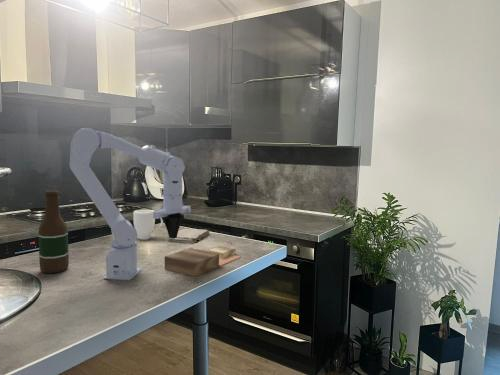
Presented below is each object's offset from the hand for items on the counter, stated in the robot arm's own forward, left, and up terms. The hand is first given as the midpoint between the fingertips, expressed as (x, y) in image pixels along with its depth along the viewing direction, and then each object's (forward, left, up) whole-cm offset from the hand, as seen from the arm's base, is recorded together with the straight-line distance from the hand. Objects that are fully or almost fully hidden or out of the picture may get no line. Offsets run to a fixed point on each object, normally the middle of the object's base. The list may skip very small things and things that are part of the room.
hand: (172, 237), depth 114 cm
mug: (+33, +20, -10) cm, 40 cm away
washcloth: (+37, +4, -10) cm, 39 cm away
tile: (+14, -14, -7) cm, 21 cm away
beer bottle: (-8, +34, -10) cm, 37 cm away
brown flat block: (0, -6, -9) cm, 11 cm away
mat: (+11, -12, -9) cm, 19 cm away
